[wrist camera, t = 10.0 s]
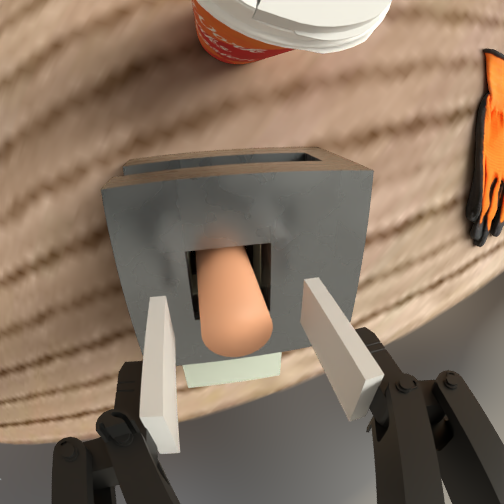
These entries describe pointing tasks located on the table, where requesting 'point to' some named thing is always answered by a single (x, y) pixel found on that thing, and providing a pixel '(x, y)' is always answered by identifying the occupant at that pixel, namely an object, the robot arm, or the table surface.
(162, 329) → the robot arm
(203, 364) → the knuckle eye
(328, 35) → the paper cup
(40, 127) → the table surface
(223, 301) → the pin
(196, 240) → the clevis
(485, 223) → the pair of gloves
